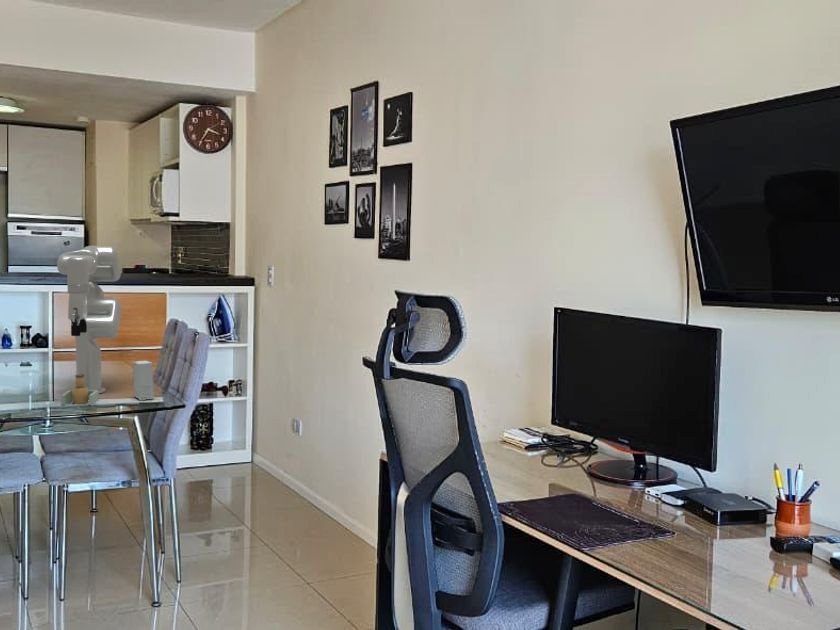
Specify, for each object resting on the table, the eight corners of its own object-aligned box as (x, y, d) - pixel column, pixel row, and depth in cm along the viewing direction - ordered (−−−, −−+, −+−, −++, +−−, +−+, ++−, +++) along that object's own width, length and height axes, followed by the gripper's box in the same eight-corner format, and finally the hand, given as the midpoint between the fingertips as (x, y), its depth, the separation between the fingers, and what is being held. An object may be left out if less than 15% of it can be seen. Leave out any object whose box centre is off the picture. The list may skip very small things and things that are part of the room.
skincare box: (154, 399, 353) (153, 362, 352) (138, 401, 350) (138, 363, 348) (147, 396, 360) (147, 359, 359) (132, 397, 357) (132, 360, 355)
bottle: (74, 401, 346) (74, 373, 345) (89, 401, 347) (89, 373, 346) (70, 404, 341) (70, 376, 339) (86, 404, 341) (85, 376, 340)
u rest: (68, 400, 348) (68, 390, 348) (98, 400, 350) (98, 390, 349) (61, 405, 338) (61, 395, 338) (92, 405, 339) (92, 395, 339)
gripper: (73, 287, 347) (74, 331, 349) (61, 291, 330) (62, 337, 332) (93, 287, 348) (94, 331, 350) (82, 291, 331) (83, 337, 333)
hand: (79, 334), depth 341 cm, fingers open, 9 cm apart
